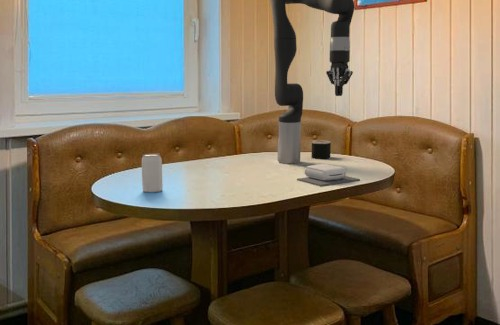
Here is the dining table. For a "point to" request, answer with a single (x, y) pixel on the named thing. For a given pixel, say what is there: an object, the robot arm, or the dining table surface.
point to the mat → (324, 183)
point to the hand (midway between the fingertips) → (338, 95)
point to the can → (152, 172)
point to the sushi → (321, 149)
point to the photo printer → (325, 172)
